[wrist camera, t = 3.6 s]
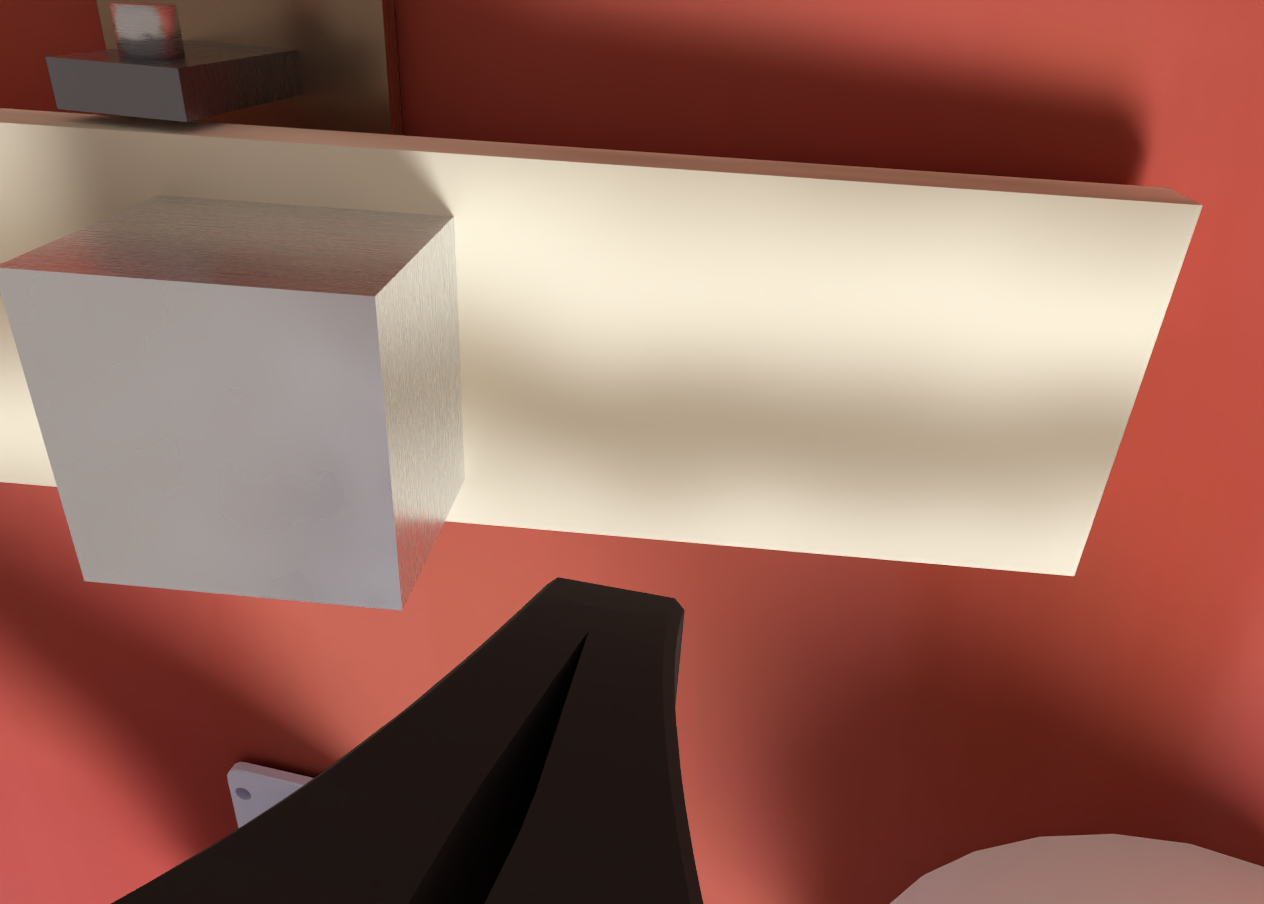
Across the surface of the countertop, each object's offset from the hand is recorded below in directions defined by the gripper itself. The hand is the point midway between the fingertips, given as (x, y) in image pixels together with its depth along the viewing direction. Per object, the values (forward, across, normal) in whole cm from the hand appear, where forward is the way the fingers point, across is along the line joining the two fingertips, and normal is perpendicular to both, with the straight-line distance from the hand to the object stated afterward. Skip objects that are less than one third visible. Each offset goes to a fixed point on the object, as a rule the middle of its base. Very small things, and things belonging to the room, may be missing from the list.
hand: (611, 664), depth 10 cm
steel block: (+7, +7, 0) cm, 10 cm away
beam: (+8, +9, 0) cm, 12 cm away
